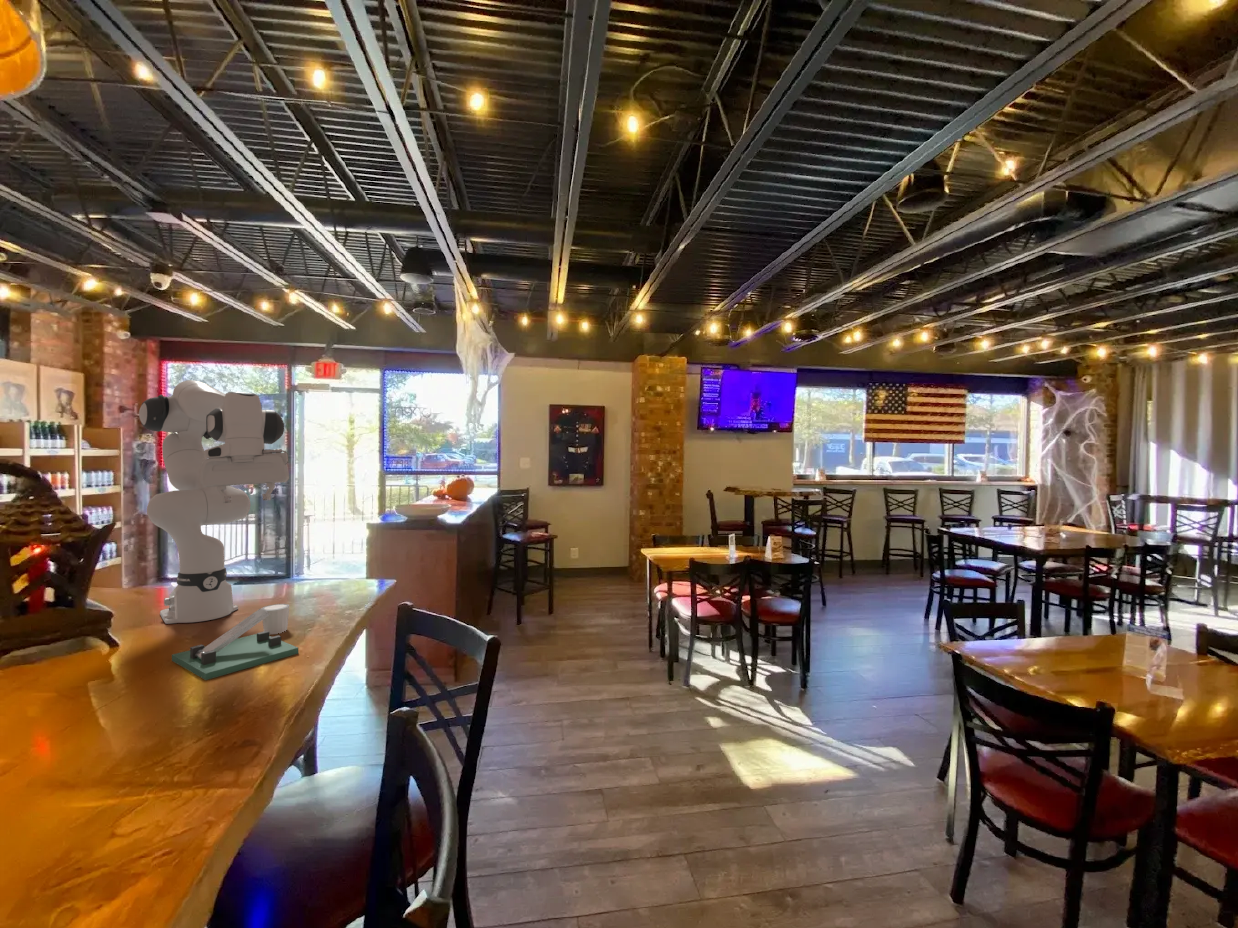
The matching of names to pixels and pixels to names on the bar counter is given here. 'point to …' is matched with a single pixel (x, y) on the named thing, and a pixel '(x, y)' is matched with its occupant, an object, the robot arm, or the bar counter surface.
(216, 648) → the steel strap
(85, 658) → the bar counter surface
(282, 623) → the white cylinder
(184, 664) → the board
